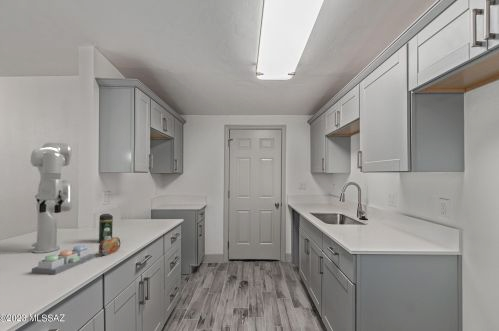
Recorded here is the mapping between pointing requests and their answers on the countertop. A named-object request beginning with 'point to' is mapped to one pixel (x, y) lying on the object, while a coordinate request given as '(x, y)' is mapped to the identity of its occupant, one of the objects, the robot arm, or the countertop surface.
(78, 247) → the slate button
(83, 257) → the button panel
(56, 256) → the green button
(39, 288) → the countertop surface
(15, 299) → the countertop surface
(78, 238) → the countertop surface
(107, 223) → the coffee jar
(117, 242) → the tin
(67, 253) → the terracotta button
